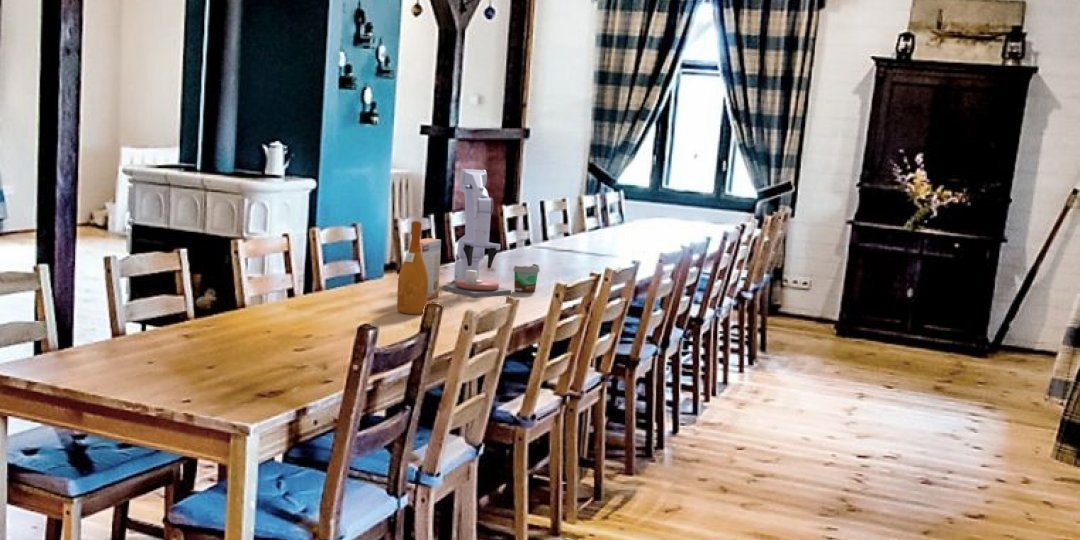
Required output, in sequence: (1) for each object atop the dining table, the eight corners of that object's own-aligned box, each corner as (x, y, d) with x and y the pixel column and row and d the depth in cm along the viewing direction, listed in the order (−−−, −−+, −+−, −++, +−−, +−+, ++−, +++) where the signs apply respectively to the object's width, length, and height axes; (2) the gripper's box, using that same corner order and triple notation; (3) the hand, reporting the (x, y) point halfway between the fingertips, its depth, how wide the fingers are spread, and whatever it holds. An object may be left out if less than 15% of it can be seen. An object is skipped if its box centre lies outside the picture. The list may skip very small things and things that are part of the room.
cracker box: (423, 295, 390) (427, 237, 387) (438, 297, 388) (442, 239, 385) (404, 300, 377) (408, 240, 374) (420, 303, 375) (423, 242, 372)
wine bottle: (392, 309, 360) (397, 218, 356) (421, 309, 364) (426, 219, 360) (401, 315, 352) (406, 222, 347) (430, 315, 356) (435, 223, 351)
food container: (524, 294, 407) (526, 268, 405) (511, 292, 410) (513, 265, 409) (544, 291, 416) (546, 265, 415) (531, 289, 420) (533, 263, 419)
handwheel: (466, 281, 415) (467, 264, 415) (505, 286, 410) (506, 269, 409) (448, 286, 401) (449, 268, 400) (488, 291, 395) (489, 274, 394)
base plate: (442, 289, 406) (442, 285, 405) (478, 286, 418) (479, 282, 418) (474, 297, 393) (474, 293, 393) (510, 294, 406) (511, 290, 405)
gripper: (459, 229, 400) (457, 266, 403) (497, 233, 397) (494, 270, 399) (466, 227, 407) (463, 263, 409) (503, 231, 403) (500, 268, 406)
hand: (479, 267), depth 405 cm, fingers open, 7 cm apart
